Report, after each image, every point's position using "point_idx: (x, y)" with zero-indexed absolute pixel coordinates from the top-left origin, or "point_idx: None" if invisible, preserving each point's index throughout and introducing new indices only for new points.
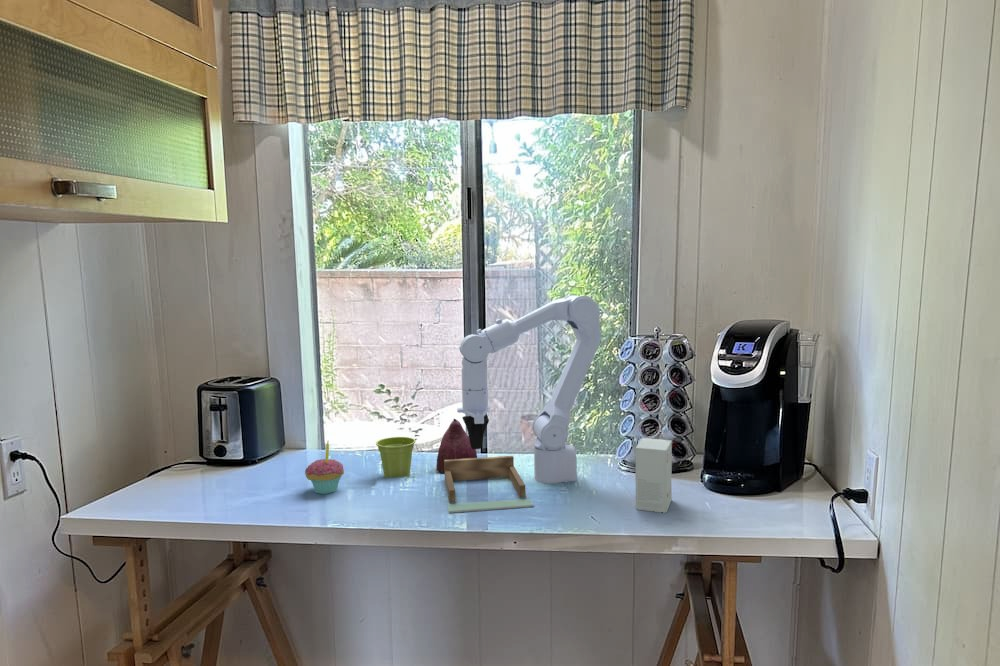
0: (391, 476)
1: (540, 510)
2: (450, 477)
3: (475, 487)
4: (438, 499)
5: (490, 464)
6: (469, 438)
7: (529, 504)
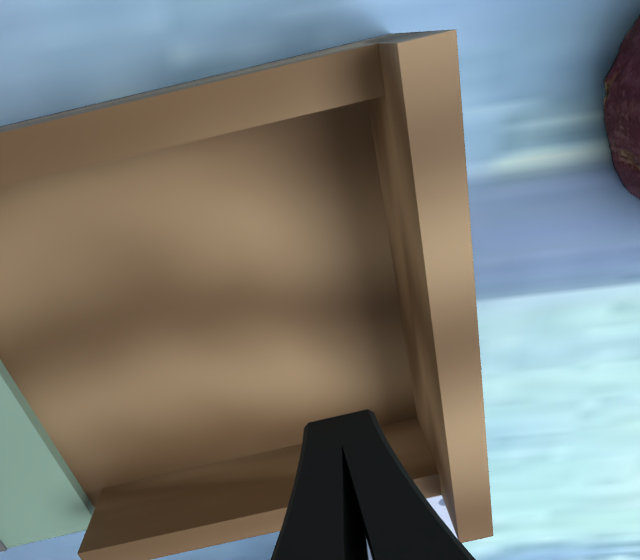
0: None
1: (55, 537)
2: (158, 135)
3: None
4: (89, 30)
5: (430, 398)
6: (320, 514)
7: (14, 535)
